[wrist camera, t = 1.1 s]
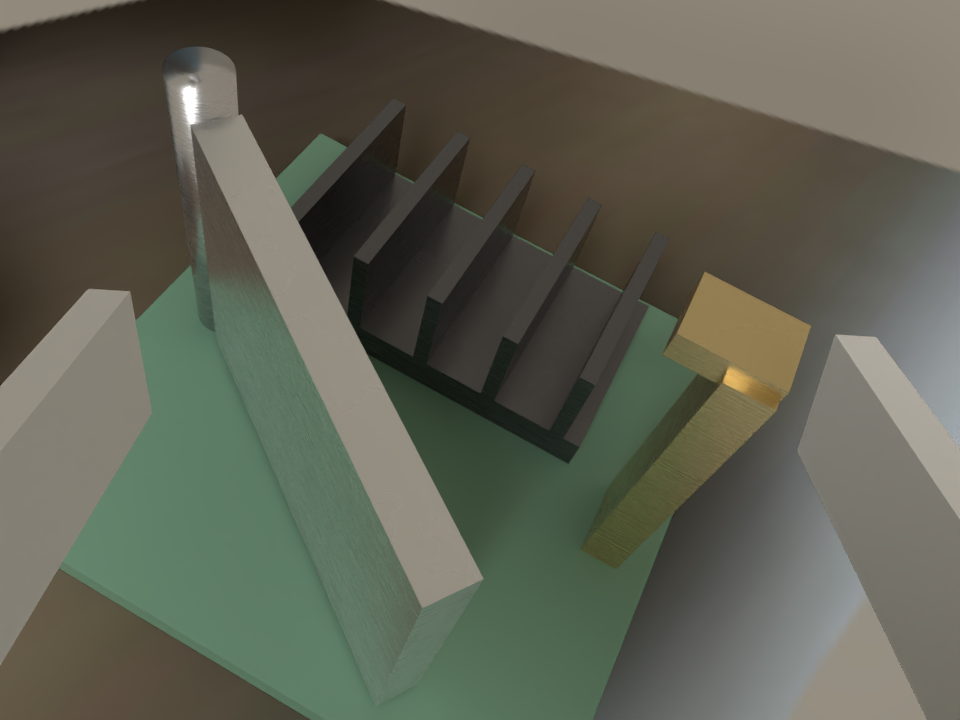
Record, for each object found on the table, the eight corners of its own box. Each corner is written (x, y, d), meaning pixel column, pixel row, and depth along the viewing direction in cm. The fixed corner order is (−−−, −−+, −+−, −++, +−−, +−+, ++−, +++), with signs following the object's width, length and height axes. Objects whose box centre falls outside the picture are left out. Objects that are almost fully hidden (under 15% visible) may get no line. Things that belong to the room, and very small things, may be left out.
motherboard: (-28, 516, 29) (-41, 499, 28) (319, 156, 41) (320, 133, 40) (530, 851, 27) (542, 849, 26) (722, 367, 39) (737, 349, 38)
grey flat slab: (216, 338, 33) (189, 124, 24) (253, 328, 33) (242, 114, 24) (375, 706, 27) (422, 608, 18) (417, 684, 27) (483, 578, 18)
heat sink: (179, 326, 33) (130, 58, 23) (330, 165, 39) (347, -106, 29) (616, 569, 31) (786, 401, 21) (703, 360, 37) (869, 148, 27)
